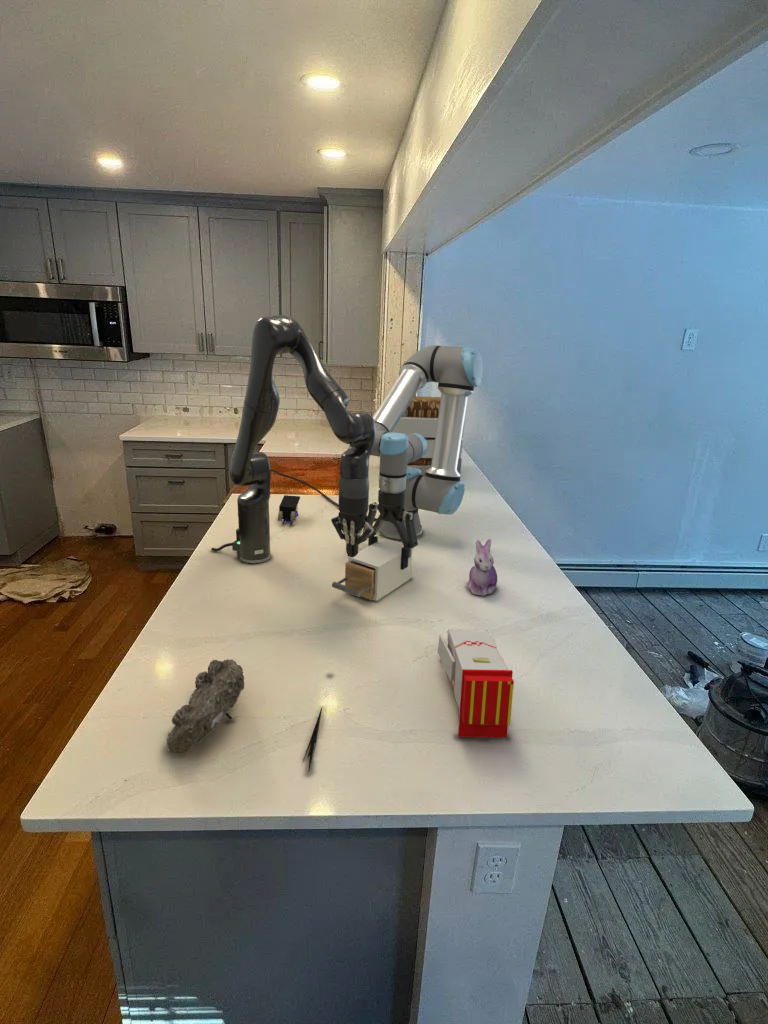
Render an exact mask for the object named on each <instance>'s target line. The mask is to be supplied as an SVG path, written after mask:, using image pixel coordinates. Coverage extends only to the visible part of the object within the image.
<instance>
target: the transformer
mask: <svg viewBox="0 0 768 1024" xmlns="http://www.w3.org/2000/svg"><path fill="white" fill-rule="evenodd" d="M441 395H442V394H441V393H440V396H416V395H415V396H414V398H413V399H412V401H411V403H410V404H409V406H408V407H407V409H406V411H405V412H404V414H403V415H402V417H401V419H400V420H399V422H398V423H397V425H396V427H395V428H394V430H393V431H392V433H402V434H405V435H408V434H411V433H412V434H413V433H417V434H420V435H422V436H423V437H424V438H425V440H426V442H427V451H426V453H425V455H424V456H422V457H421V458H420V459H419V460H416V461H413V462H411V463H409V464H407V467H410V466H411V467H417V466H418V467H431V464H432V457H433V450H434V443H435V436H436V429H437V422H438V415H439V408H440V401H441ZM464 422H465V419H464ZM464 429H465V425H464V426H463V432H462V439H463V438H464V431H465V430H464ZM462 439H461V445H460V452H459V458H458V465H457V471H458V473H459V474H460V475H461V472H462V461H463V460H462V453H463V442H464V441H463V440H462Z"/></svg>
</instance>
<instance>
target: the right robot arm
mask: <svg viewBox="0 0 768 1024" xmlns="http://www.w3.org/2000/svg"><path fill="white" fill-rule="evenodd" d="M483 375H484V365H483V359H482V356H481V353H480V352H479V350H477V349H476V348H471V347H466V346H449V345H435V344H434V345H429V346H425V347H423V348H421V349H419V350H418V351H416V352H414V353H413V354H412V355H410V357H408V358H407V359H406V361H405V362H403V364H402V365H401V367H400V369H399V371H398V377H397V379H396V380H395V382H394V383H393V385H392V386H391V388H390V389H389V390H388V392H387V394H386V396H385V397H384V399H383V400H382V402H381V403H380V405H379V407H378V408H377V409H376V410H375V413H374V414H373V416H372V417H373V419H374V422H375V426H376V434H375V439H374V443H373V447H372V451H371V454H370V456H373V457H379V471H378V493H377V502H376V501H374V502H372V503H368V512H367V517H368V523H369V524H370V526H371V527H372V526H374V527H375V531H374V532H373V533H372V534H371V535H370V536H369V537H368V539H367V547H368V546H370V545H372V544H374V543H376V542H378V541H379V536H377V534H378V533H379V534H380V535H381V536H382V537H384V538H386V539H389V540H394V541H401V543H402V544H403V545H404V547H403V548H402V551H401V570H403V569H405V568H407V567H408V559H409V558H410V557H411V548H413V549H414V548H415V547H417V546H419V542H418V538H420V537H421V536H422V535H423V525H422V524H421V518H420V515H419V510H421V511H427V512H432V513H437V514H439V515H446V516H447V515H448V516H450V515H453V514H455V513H456V512H457V510H458V509H459V508H460V506H461V504H462V502H463V499H464V495H465V489H466V488H465V483H464V482H463V481H462V480H461V474H459V473H458V471H457V465H458V458H459V452H460V445H461V440H462V439H463V438H462V432H463V426H464V427H465V421H464V420H465V418H466V412H467V405H468V400H469V399H468V398H469V397H470V396H472V394H474V392H475V391H474V390H475V388H477V387H479V386H480V385H481V383H482V380H483ZM428 383H438V384H437V390H438V391H439V392H440V397H441V401H440V408H439V415H438V422H437V429H436V436H435V443H434V450H433V457H432V464H431V465H430V466H429V468H427V469H426V470H425V474H422V470H421V468H419V467H415V466H411V467H410V466H407V464H409V463H411V462H413V461H416V460H419V459H420V458H421V457H422V456H424V455H425V453H426V451H427V442H426V440H425V438H424V437H423V436H422V435H420V434H417V433H413V434H412V433H411V434H408V435H405V434H402V433H392V431H393V430H394V428H395V427H396V425H397V423H398V422H399V420H400V419H401V417H402V415H403V414H404V412H405V411H406V409H407V407H408V406H409V404H410V403H411V401H412V399H413V398H414V396H415V397H416V395H417V394H418V392H419V390H421V389H424V387H425V386H426V384H428ZM441 394H442V395H441ZM463 433H464V432H463ZM271 472H273V473H275V474H277V475H279V476H282V477H284V478H288V479H291V480H293V481H296V482H299V483H301V484H303V485H305V486H308V487H309V488H311V489H313V490H314V491H315V492H317V493H318V494H320V495H321V496H322V497H324V498H325V499H326V500H327V501H329V502H330V503H331V504H333V505H335V506H336V507H337V508H339V503H338V502H336V501H334V500H332V498H330V497H328V496H327V495H326V494H324V492H322V491H320V490H319V489H318V488H317V487H315V486H313V485H311V484H309V483H308V482H306V481H304V480H301V479H299V478H296V477H294V476H290V475H289V474H284V473H281V472H278V471H277V470H276V469H273V468H271ZM377 512H379V515H378V517H377V518H376V515H377ZM363 530H364V528H363V529H362V534H363V533H364V532H363Z"/></svg>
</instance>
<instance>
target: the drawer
mask: <svg viewBox="0 0 768 1024" xmlns="http://www.w3.org/2000/svg"><path fill="white" fill-rule="evenodd" d="M344 564H345V565H344V566H345V571H344V573H345V574H344V577H343V578H342V579H340V580H338V581H333V582H332V583H331V587H332V588H334V589H335V590H339V591H342V592H344V593H347V594H349V595H352V596H355V597H356V598H357V597H358V598H360V597H361V598H363V599H366V600H369V601H372V599H373V594H374V591H375V569H374V568H371V567H368V566H365V565H363V564H360V563H357V562H354V563H351V562H348V561H346V562H345V563H344ZM343 583H344V584H343Z"/></svg>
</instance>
